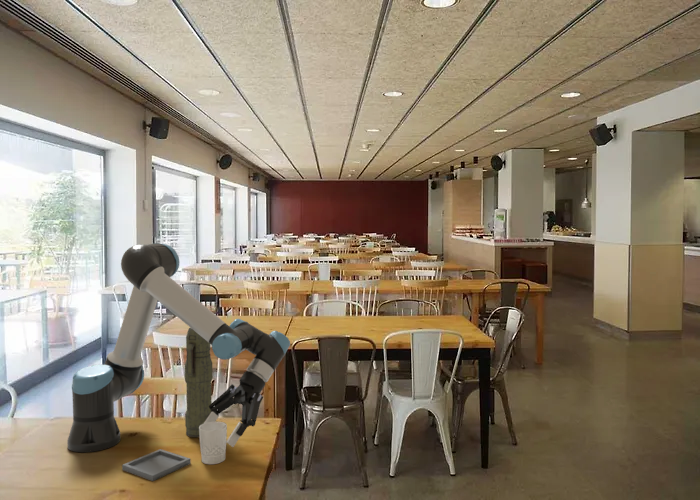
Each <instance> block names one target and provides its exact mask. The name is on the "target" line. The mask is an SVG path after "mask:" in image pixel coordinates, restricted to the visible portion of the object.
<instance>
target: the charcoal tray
mask: <svg viewBox="0 0 700 500" xmlns="http://www.w3.org/2000/svg"><path fill="white" fill-rule="evenodd" d="M191 461H192V460H191V458H190V457H186V456H184V455H180V454H178V453H177V454H176V453H174V452H171V451H167V450H165V449H161V448H160V449H157V450H155V451H152V452H150V453H147V454H145V455H143V456H140V457H138V458H135V459H133V460H131V461H128V462H126V463H123V464H121V470H122V471H123V472H127V473H130V474H133V475H135V476H137V477H140V478H143V479H146V480H148V481H151V482H155V481H156V480H159V479H161V478H164V477H165V476H167V475H169V474H172V473H173V472H176V471H178V470H180V469H182V468H184V467H187V466H189V465H191Z"/></svg>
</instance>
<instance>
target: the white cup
mask: <svg viewBox="0 0 700 500" xmlns="http://www.w3.org/2000/svg"><path fill="white" fill-rule="evenodd" d="M227 434H228V425H227V423H226V422H223V421H217V420H216V421H213V422H207V423H204V424H202V425H200V426H199V436H200V437H199V446H200V453H201V455H200V456H201V462H202V464H206V465H216V464H217V465H218V464H220V463H223V462H224V461H225V460H226V451H227V442H226V441H227V439H228V438H227Z"/></svg>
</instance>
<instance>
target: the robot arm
mask: <svg viewBox="0 0 700 500" xmlns="http://www.w3.org/2000/svg"><path fill="white" fill-rule="evenodd" d="M120 267H121V268H120V269H121V271H122V274H123V275H124V277H125V278H126V279H127V280H128V282H129V283H130V284H132V286H133V287H132V290H131V293H130V296H129V300H128V303H127V306H126V310H125V313H124V316H123V319H122V323H121V326H120V330H119V333H118V336H117V339H116V342H115V346H114V349H113V351H110V352H109V353H108V354H107V355H106V359H105V362H104V364H95V365H94V364H93V365H90V366H85V367H83V368H81V369H79V370H77V371H76V372H75V373H74V374H73V376H72V383H71V391H72V392H71V393H72V420H73V422H72V424H71V428H70V432H69V435H68V437H67V449H68V450H69V451H71V452H74V453H92V452H93V453H94V452H98V451H99V452H100V451H103V450H106V449H109V448H112V447H114V446H116V445H117V444H119V443H120V442H121V431H120V428H119V426H118V425H119V424H118V423H117V421H116V417H115V412H114V411H115V409H114V407H115V406H114V405H115V404H114V403H115V402H116V401H119V400H121V399H123V398H124V397H127V396H130V395H131V394H133V393H134V392H135V391H137V390H138V389H139V388H140V387H141V385H142V384H143V382H144V380H145V370H144V369H143V367H144V366H143V364H144V360H143V358H142V357H141V355H142V353H143V348H144V345H145V343H146V340H147V336H148V332H149V329H150V326H151V323H152V320H153V316H154V314H155V310H156V306H157V304H158V302H159V303H160V304H161V305H162V306H164V307H165V308H166V309H167V310H169V312H170V313H172V314H173V315H174V316H176V317H177V318H178V319H179V320H180V321H182V322H183V323H185V325H187V326H188V327H189V328H192V329H193V330H194V331H195V332H196V333H198V334H199V335H200V336H201V337H203V338H204V339H205V340H206V341H207V342H209V343H210V346H211V348H212V349H211V350H212V352H213V354H214V355H215V357H217V358H218V359H219V360H230V359H234V358H235V357H237V356H238V355H239V354H241V353H242V352H244V351H248V352H249V353H251V354H253V355H255V356H254V358H253V359H252V360H251V362H249V363H250V364H248V366H247V368H246V371H244V372H243V374H242V375H241V377H240V378H239V380H238V381H239V385H238V386H235V385H234V384H233V383H231V384H230V385H229V387H228V388H227V389H226V390H225V391H224V392H223V393H222V394H220V395H219V396H218V397H217V398H216V399H215V400H214V401H213V402H212V403H211V404H210V405H209V408H210V409H211V412H210V414H209V415H208V417H207V418H206V420H205V422H204V423H207V422H213V421H217V420H218V418H219V417H220V416H219V414H220V413H222V412H224V411H225V410H228V409H229V408H230V407H232V406H233V405H237V404H238V405H242V406H241V407H242V409H241V411H242V412H241V420H240V421H238V423H237V424H236V425H235V427H234V429H233V430H232V432H231V434H230V435H229V437H228V438H227V439H226V444H228V445H229V446H230V447H232V448H234V447H235V445H236V444H237V442H238V441H239V439H240V437H242V435H243V434H244V433H245V431H246V430H247V428H249V427H250V426H251V427H254V426H255V425H256V421H257V419H258V415H259V410H260V406H261V403H262V400H263V399H264V396H263V395H262V394H261V393H262V391H263V389H264V388H265V386H266V383H267V382H268V381H269V380H270V378H271V377H272V375H273V374H274V372H275V370H276V369H277V367H278V366H279V365H280V363H281V361H282V359H284V357H285V356H286V353H287V351H288V349H289V348H290V346H291V340H290V339H289V338H288V337H287V336H286V334H284V333H282V332H280V331H277V330H273V331H271V332H270V333H266V332H264V331H262V330H261V329H259V328H257V327H255V326H254V325H252V324H251V323H249V322H248V321H245V320H242V319H241V318H236V319H234V320H233V321H231V323H230V325H228V324H227V323H226V322H225V321H224V320H222V319H221V318H220V317H219V316H218V315H217V314H216V313H213V311H212V310H210V308H207V306H205V305H204V304H203V303H202V302H201V301H199V299H197V298H195V296H193V295H192V294H191V293H190V292H188V291H187V290H186V289H185V288H184V287H183V286H181V285H180V284H178V282H176V281H175V280H173V278H171V277H173V276H174V275H175V274H176V273H177V272H178V270H179V268H180V258H179V254H178V253H177V251H176V250H175V249H174V248H173V246H171V245H169V244H166V243H160V242H155V243H147V244H135V245H133V246H131V247H129V248H128V249H127V250H125V251H124V253H123V255H122V257H121V263H120Z"/></svg>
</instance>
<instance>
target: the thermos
mask: <svg viewBox="0 0 700 500" xmlns="http://www.w3.org/2000/svg"><path fill="white" fill-rule="evenodd" d="M187 329H188V330H187V333H186V337H185V342H186V343H185V345H186V346H185V347H186V349H185V350H186V359H185V362H184V381H185V384H186V411H185V415H184V417H185V418H184V419H185V423H184V424H185V425H184V426H185V429H186V430H185V435H186V436H188V437H190V438H200V436H199V426H200V425H202V424H204V422H205V420H206V418H207V417H208V415H209V414H210V412H211V409H210V408H209V405H210V404H211V403H213V402H212V381H213V378H214V377H213V360H212V358H211V353H210V352H211V344H210V343H209V342H207V341H206V340H205V339H204V338H203V337H201V336H200V335H199V334H198V333H196V332H195V331H194V330H193V329H192V328H190V327H189V328H187Z"/></svg>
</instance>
